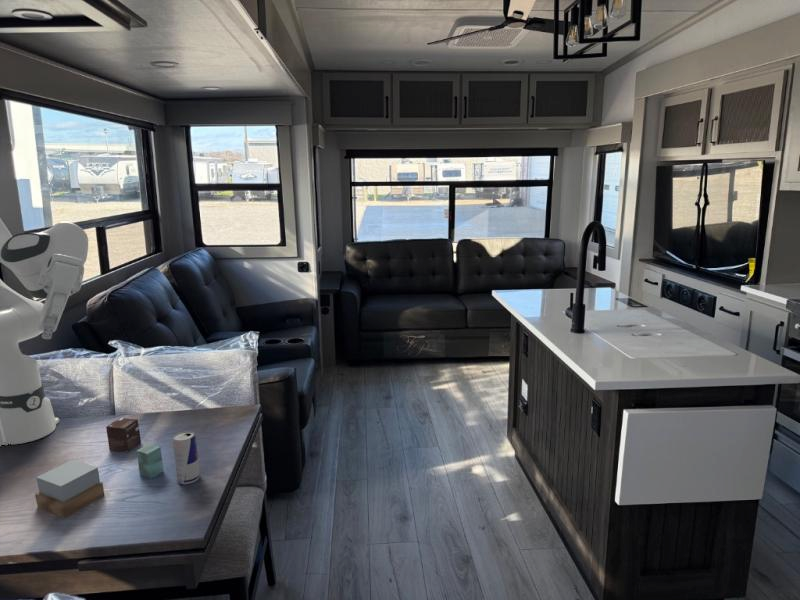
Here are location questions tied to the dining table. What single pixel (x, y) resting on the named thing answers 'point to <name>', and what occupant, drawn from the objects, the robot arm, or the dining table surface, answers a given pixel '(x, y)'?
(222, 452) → the dining table surface
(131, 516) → the dining table surface
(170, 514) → the dining table surface
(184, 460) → the energy drink
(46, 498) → the tower base
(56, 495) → the tower top
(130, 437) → the box
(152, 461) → the block
